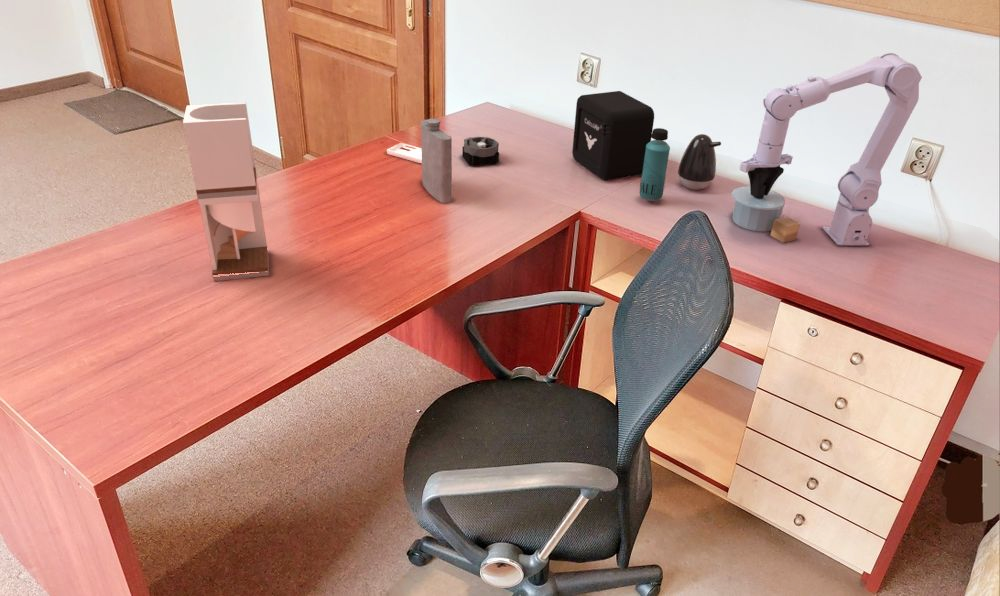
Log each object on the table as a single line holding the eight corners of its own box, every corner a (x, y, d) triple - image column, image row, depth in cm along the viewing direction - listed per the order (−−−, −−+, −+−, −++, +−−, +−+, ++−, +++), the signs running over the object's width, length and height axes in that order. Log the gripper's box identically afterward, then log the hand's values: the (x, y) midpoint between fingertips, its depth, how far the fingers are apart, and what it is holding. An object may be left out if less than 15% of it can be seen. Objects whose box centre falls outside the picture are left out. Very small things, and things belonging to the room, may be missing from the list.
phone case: (386, 153, 228) (426, 165, 221) (385, 149, 227) (426, 160, 220) (401, 146, 233) (440, 157, 227) (401, 142, 232) (440, 153, 226)
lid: (795, 209, 182) (799, 191, 180) (750, 214, 179) (754, 196, 177) (764, 188, 193) (768, 171, 190) (721, 193, 189) (724, 175, 187)
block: (796, 239, 188) (800, 223, 186) (783, 242, 186) (787, 226, 184) (783, 232, 192) (787, 216, 189) (770, 235, 190) (774, 219, 187)
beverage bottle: (661, 196, 208) (672, 126, 197) (663, 207, 202) (674, 134, 191) (637, 195, 208) (647, 124, 197) (638, 205, 202) (648, 133, 192)
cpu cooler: (502, 146, 220) (468, 149, 217) (501, 165, 223) (468, 168, 220) (492, 134, 228) (459, 137, 226) (491, 152, 231) (459, 155, 229)
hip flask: (453, 202, 200) (453, 129, 190) (439, 204, 199) (438, 131, 188) (431, 179, 212) (430, 109, 202) (417, 181, 211) (415, 111, 200)
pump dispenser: (703, 197, 208) (714, 144, 200) (669, 187, 213) (678, 135, 205) (719, 185, 215) (729, 134, 207) (685, 176, 220) (694, 125, 212)
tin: (787, 228, 193) (793, 207, 190) (748, 233, 190) (753, 212, 187) (761, 209, 203) (766, 189, 200) (723, 214, 199) (727, 193, 196)
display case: (213, 281, 163) (182, 122, 144) (215, 257, 171) (186, 105, 153) (268, 275, 165) (245, 119, 147) (268, 252, 174) (245, 102, 155)
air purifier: (567, 159, 229) (573, 93, 218) (609, 152, 234) (616, 88, 224) (602, 184, 213) (610, 115, 203) (646, 177, 219) (655, 109, 208)
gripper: (782, 132, 184) (769, 184, 191) (736, 140, 178) (725, 193, 185) (803, 141, 178) (790, 194, 186) (757, 150, 173) (745, 204, 180)
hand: (759, 194), depth 185 cm, fingers closed on lid, 2 cm apart
